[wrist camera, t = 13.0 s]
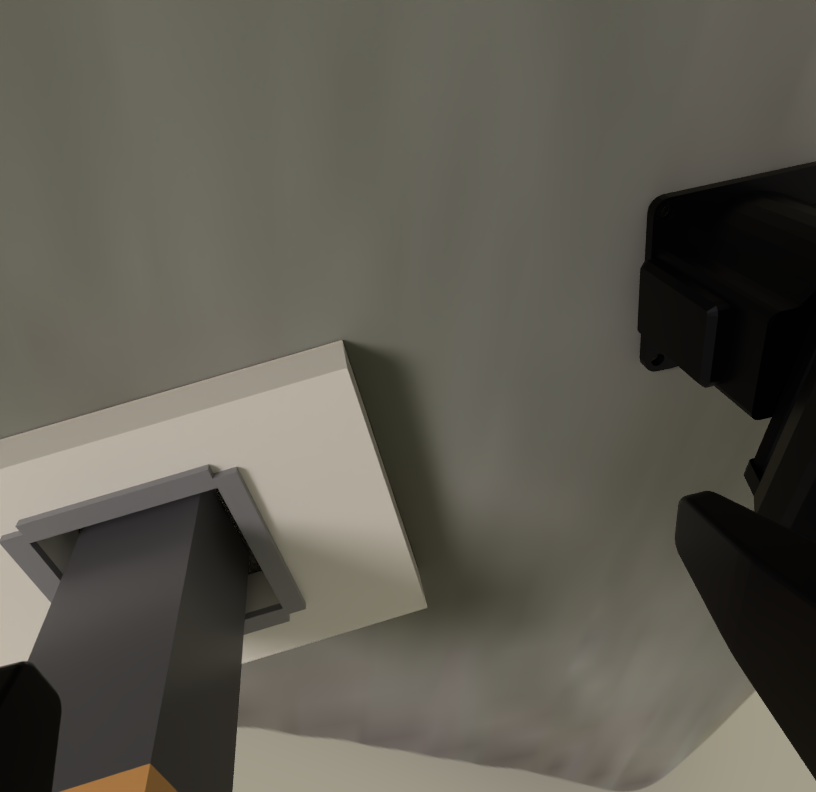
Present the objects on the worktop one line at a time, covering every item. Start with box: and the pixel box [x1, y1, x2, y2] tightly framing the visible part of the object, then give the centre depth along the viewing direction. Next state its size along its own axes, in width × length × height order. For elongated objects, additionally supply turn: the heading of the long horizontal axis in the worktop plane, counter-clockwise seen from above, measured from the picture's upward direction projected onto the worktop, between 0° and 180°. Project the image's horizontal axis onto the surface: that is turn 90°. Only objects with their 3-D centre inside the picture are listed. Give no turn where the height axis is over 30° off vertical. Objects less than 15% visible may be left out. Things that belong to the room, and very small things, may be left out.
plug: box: [28, 489, 250, 792], centre depth 19 cm, size 4×4×12 cm
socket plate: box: [0, 340, 428, 667], centre depth 23 cm, size 17×12×2 cm
